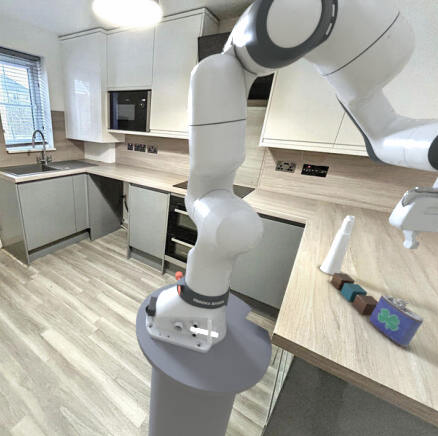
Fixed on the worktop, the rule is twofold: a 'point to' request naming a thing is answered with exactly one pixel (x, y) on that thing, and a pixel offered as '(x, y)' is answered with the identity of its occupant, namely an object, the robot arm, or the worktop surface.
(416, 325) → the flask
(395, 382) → the worktop surface
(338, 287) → the walnut block far
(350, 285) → the teal block
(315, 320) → the worktop surface
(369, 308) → the walnut block near
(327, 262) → the cosmetic bottle
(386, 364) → the worktop surface
